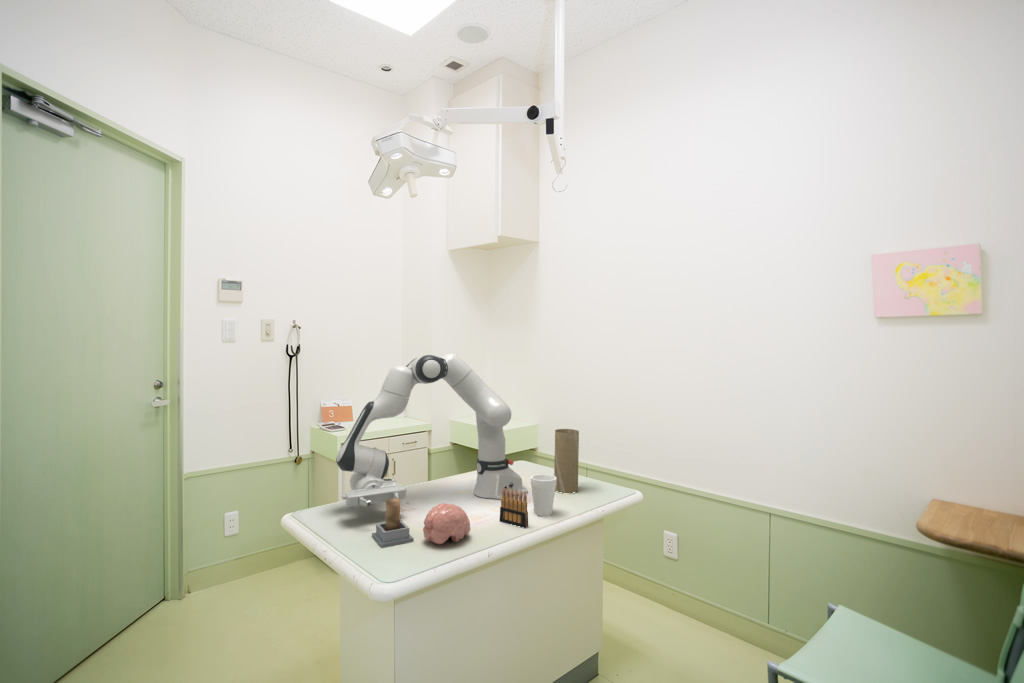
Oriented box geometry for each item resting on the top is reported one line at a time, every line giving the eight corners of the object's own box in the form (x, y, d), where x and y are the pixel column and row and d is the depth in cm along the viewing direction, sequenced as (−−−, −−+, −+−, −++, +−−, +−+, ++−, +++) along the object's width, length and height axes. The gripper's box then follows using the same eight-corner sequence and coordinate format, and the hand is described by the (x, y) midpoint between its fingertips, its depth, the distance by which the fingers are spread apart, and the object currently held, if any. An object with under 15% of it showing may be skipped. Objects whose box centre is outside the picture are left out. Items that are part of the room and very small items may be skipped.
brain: (446, 543, 165) (458, 505, 168) (473, 554, 156) (484, 514, 160) (409, 535, 154) (423, 495, 158) (436, 546, 145) (449, 504, 149)
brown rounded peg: (397, 531, 160) (397, 497, 160) (402, 536, 156) (402, 501, 156) (382, 534, 157) (383, 499, 157) (387, 539, 153) (388, 503, 153)
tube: (574, 486, 217) (575, 428, 217) (580, 493, 207) (581, 433, 207) (551, 487, 216) (552, 428, 216) (556, 494, 206) (558, 433, 206)
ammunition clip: (499, 521, 173) (499, 486, 174) (502, 520, 175) (503, 485, 175) (525, 528, 167) (525, 492, 167) (528, 526, 169) (528, 491, 169)
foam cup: (524, 513, 182) (525, 477, 182) (541, 507, 189) (541, 472, 189) (545, 519, 176) (545, 482, 176) (561, 513, 183) (561, 477, 183)
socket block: (402, 530, 163) (402, 518, 163) (413, 541, 155) (413, 528, 155) (371, 536, 158) (372, 523, 158) (381, 547, 150) (381, 534, 150)
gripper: (340, 485, 172) (350, 496, 160) (398, 478, 183) (411, 488, 171) (340, 504, 172) (350, 516, 160) (398, 495, 183) (411, 506, 171)
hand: (382, 501), depth 166 cm, fingers open, 8 cm apart
